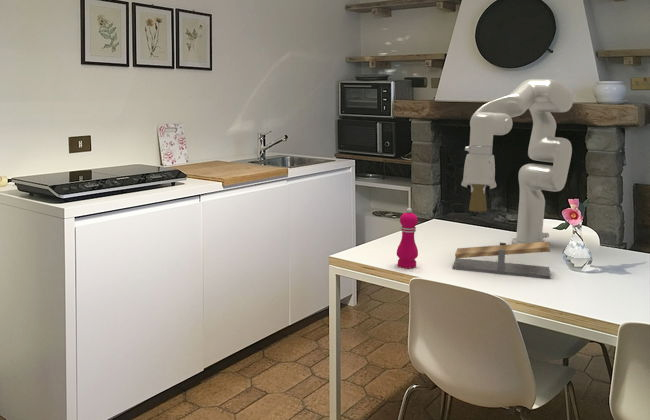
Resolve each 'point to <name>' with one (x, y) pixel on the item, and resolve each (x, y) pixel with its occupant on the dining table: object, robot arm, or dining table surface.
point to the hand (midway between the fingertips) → (477, 203)
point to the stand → (502, 267)
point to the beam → (508, 249)
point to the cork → (478, 199)
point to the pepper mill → (407, 240)
